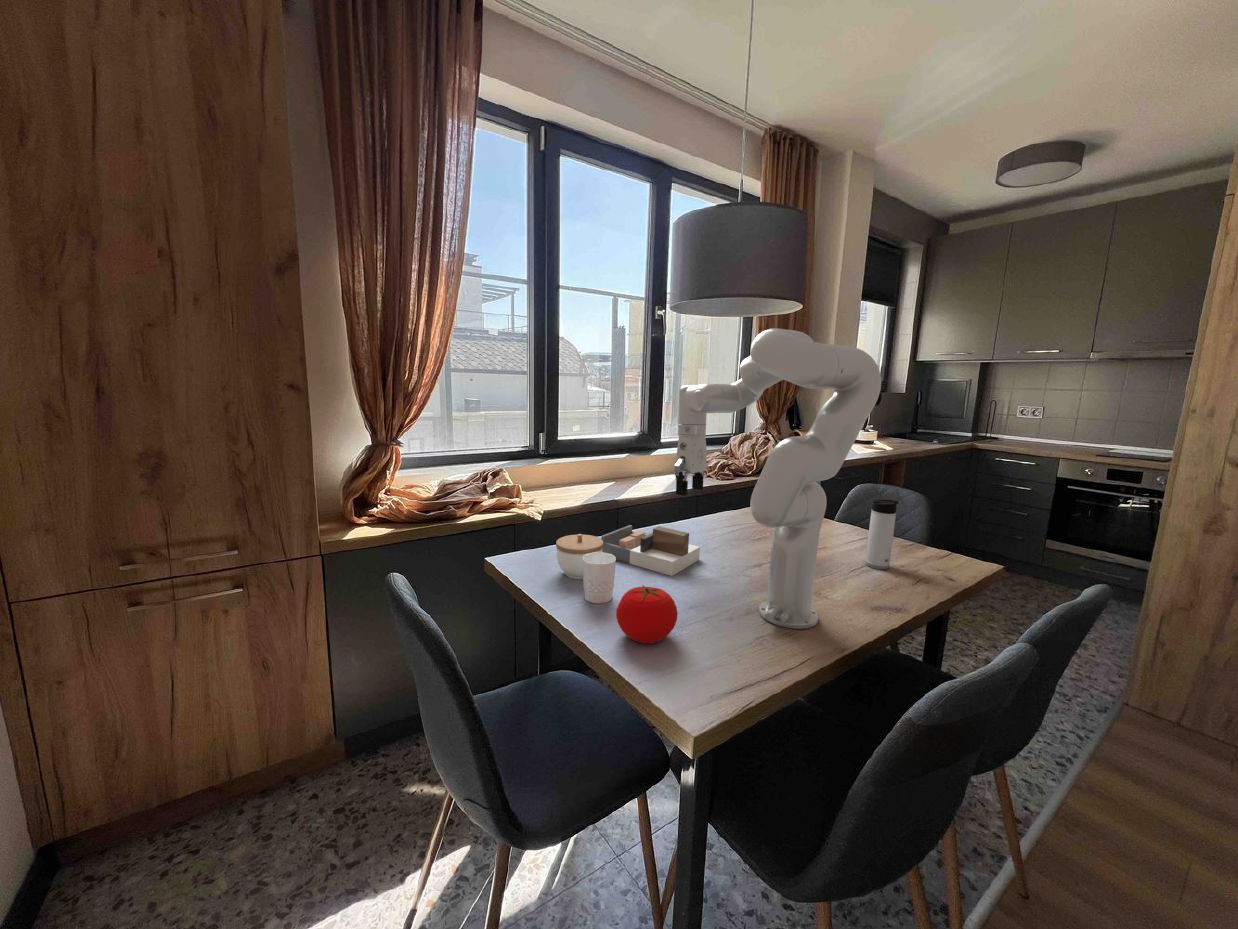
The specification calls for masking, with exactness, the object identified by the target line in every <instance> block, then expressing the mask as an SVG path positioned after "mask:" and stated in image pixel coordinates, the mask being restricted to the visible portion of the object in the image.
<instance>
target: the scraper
mask: <svg viewBox="0 0 1238 929" xmlns="http://www.w3.org/2000/svg"><path fill="white" fill-rule="evenodd" d="M646 535H647V536H644V537H642V538H641V545H640V552H646V551H648V550H650V549H656V550H659V551H663V552H667V553H671V554H675V555H679V556H682V557H683V556H684V555H686V554H688V546H689V544H690V542H689V541H690V533H689V532H685V531H682V530H678V529H673V528H668V527H663V526H660V525H658V526H657V527H654V528H652V532H651V533H650V534H646Z"/></svg>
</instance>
